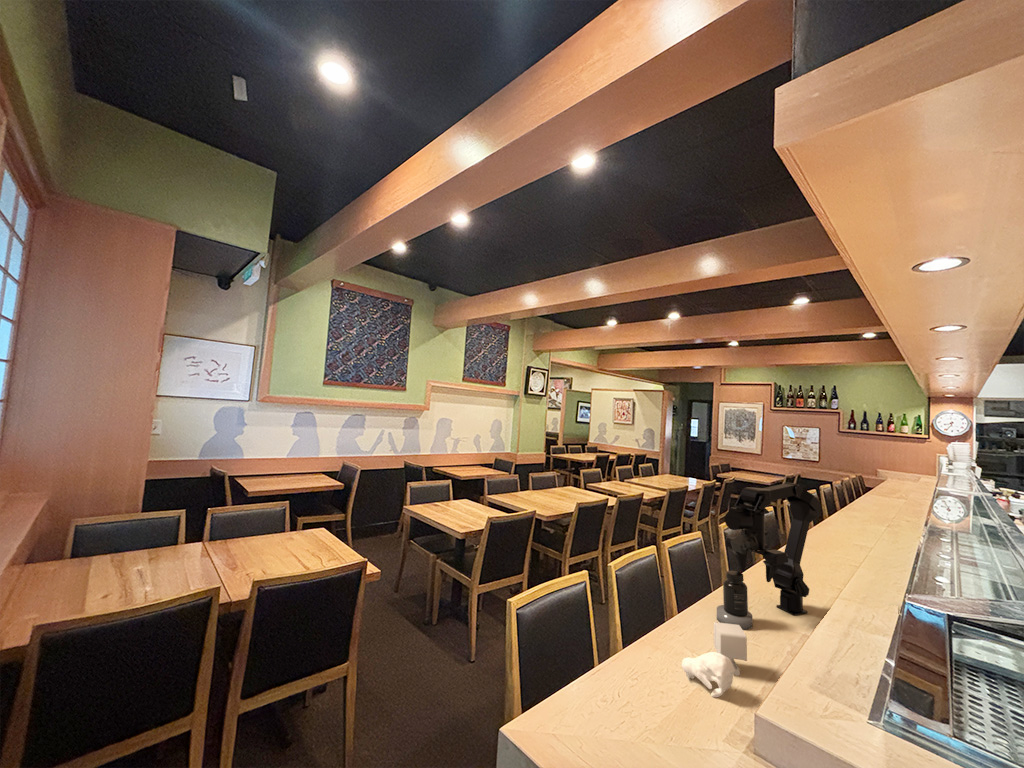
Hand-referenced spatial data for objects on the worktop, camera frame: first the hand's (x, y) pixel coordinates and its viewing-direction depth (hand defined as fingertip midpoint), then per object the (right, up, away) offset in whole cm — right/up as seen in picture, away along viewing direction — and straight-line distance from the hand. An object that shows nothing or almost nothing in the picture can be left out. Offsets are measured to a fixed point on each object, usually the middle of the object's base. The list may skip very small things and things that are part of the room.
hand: (755, 576), depth 137 cm
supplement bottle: (-8, -10, -4) cm, 13 cm away
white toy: (-33, -10, -36) cm, 50 cm away
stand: (-9, -13, -4) cm, 16 cm away
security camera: (-24, -11, -29) cm, 39 cm away
